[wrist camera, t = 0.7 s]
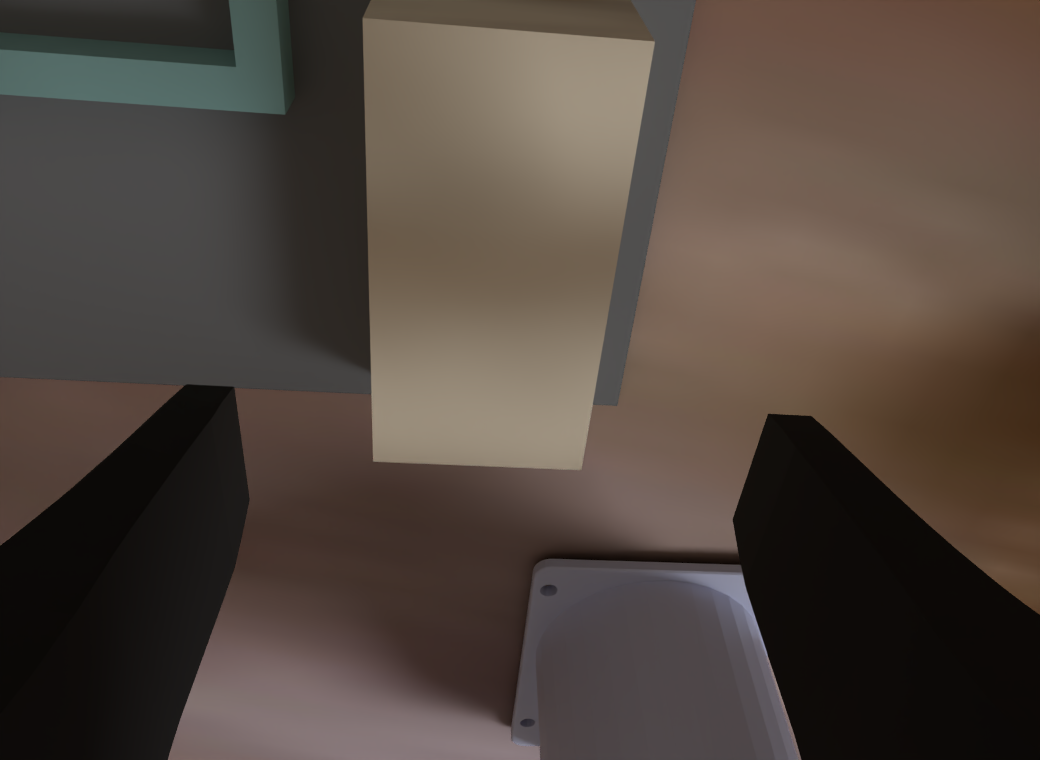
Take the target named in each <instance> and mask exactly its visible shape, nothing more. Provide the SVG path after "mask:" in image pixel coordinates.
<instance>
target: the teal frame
mask: <svg viewBox="0 0 1040 760" xmlns="http://www.w3.org/2000/svg"><path fill="white" fill-rule="evenodd" d="M229 7H230V16H231V25H232V34H233V43H234V50H224V49H211V48H198V47H185V46H172V45H159V44H146V43H133V42H120V41H107V40H94V39H81V38H68V37H55V36H42V35H29V34H16V33H3V32H0V94H2V95H16V96H30V97H44V98H58V99H72V100H86V101H100V102H114V103H128V104H142V105H156V106H170V107H184V108H198V109H212V110H226V111H240V112H254V113H268V114H282V115H285V114H286V113H287V111H288V109H289V107H290V105H291V104H292V102H293V100H294V98H295V89H294V75H293V61H292V48H291V34H290V20H289V6H288V0H229Z"/></svg>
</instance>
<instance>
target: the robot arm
mask: <svg viewBox="0 0 1040 760" xmlns="http://www.w3.org/2000/svg"><path fill="white" fill-rule="evenodd" d="M248 505H249V492H248V485H247V478H246V470H245V463H244V456H243V448H242V441H241V434H240V426H239V419H238V412H237V404H236V397H235V390H234V387H232V386H212V385H193V384H186V385H185V386H184V387H183V388H182V389H181V390H179V391H178V392H177V393H176V394H175V395H174V396H173V397H172V398H170V399H169V400H168V401H167V402H166V403H165V404H164V405H163V406H162V407H161V408H160V409H159V410H157V411H156V412H155V413H154V414H153V415H152V416H151V417H150V418H149V419H148V420H147V421H146V422H145V423H144V424H142V425H141V426H140V427H139V428H138V429H137V430H136V431H135V432H134V433H133V434H132V435H131V436H130V437H129V438H127V439H126V440H125V441H124V442H123V443H122V444H121V445H120V446H119V447H118V448H117V449H116V450H114V451H113V452H112V453H111V454H110V455H109V456H108V457H107V458H105V459H104V460H103V461H102V462H101V463H100V464H99V465H98V466H96V467H95V468H94V469H93V470H92V471H91V472H90V473H88V474H87V475H86V476H85V477H84V478H83V479H82V480H81V481H79V482H78V483H77V484H76V485H75V486H74V487H73V488H71V489H70V490H69V491H68V492H67V493H66V494H64V495H63V496H62V497H61V498H60V499H58V500H57V501H56V502H55V503H53V504H52V505H51V506H50V507H48V508H47V509H46V510H45V511H43V512H42V513H41V514H40V515H38V516H37V517H36V518H35V519H34V520H32V521H31V522H30V523H29V524H27V525H26V526H25V527H24V528H22V529H21V530H20V531H19V532H17V533H16V534H15V535H14V536H12V537H11V538H10V539H9V540H7V541H6V542H5V543H3V544H2V545H1V546H0V760H168V756H169V753H170V750H171V746H172V743H173V740H174V737H175V734H176V731H177V727H178V724H179V721H180V718H181V715H182V713H183V710H184V707H185V704H186V702H187V699H188V696H189V693H190V691H191V688H192V685H193V682H194V680H195V677H196V674H197V671H198V668H199V666H200V663H201V660H202V657H203V655H204V652H205V649H206V646H207V644H208V641H209V638H210V635H211V633H212V630H213V627H214V624H215V622H216V619H217V616H218V613H219V611H220V608H221V605H222V602H223V599H224V596H225V594H226V591H227V588H228V585H229V582H230V579H231V577H232V574H233V571H234V568H235V564H236V560H237V555H238V551H239V547H240V542H241V538H242V533H243V529H244V524H245V519H246V514H247V509H248ZM733 524H734V530H735V535H736V541H737V547H738V553H739V558H740V563H741V565H731V564H700V563H669V562H638V561H607V560H576V559H545V560H542V561H540V562H538V563H537V564H536V565H535V566H534V569H533V574H532V581H531V588H530V595H529V603H528V610H527V617H526V624H525V631H524V638H523V646H522V653H521V660H520V667H519V674H518V681H517V688H516V696H515V703H514V710H513V717H512V724H511V740H512V741H513V742H514V743H515V744H517V745H521V746H540V760H798V757H797V753H796V750H795V747H794V744H793V741H792V737H791V734H790V731H789V728H788V724H787V721H786V718H785V715H784V712H783V708H782V705H781V702H780V699H779V696H778V692H777V689H776V686H775V683H774V680H773V676H772V673H771V670H770V667H769V663H768V660H767V656H768V657H769V660H770V663H771V666H772V669H773V672H774V675H775V678H776V681H777V684H778V687H779V690H780V693H781V696H782V699H783V702H784V705H785V708H786V711H787V714H788V717H789V720H790V723H791V726H792V729H793V732H794V735H795V738H796V742H797V745H798V749H799V752H800V756H801V759H802V760H1040V615H1039V614H1038V613H1036V612H1035V611H1033V610H1032V609H1031V608H1029V607H1028V606H1027V605H1025V604H1024V603H1022V602H1021V601H1020V600H1018V599H1017V598H1016V597H1015V596H1013V595H1012V594H1011V593H1009V592H1008V591H1007V590H1006V589H1004V588H1003V587H1002V586H1000V585H999V584H998V583H997V582H995V581H994V580H993V579H992V578H990V577H989V576H988V575H987V574H986V573H984V572H983V571H982V570H981V569H980V568H978V567H977V566H976V565H975V564H974V563H972V562H971V561H970V560H969V559H968V558H966V557H965V556H964V555H963V554H962V553H960V552H959V551H958V550H957V549H955V548H954V547H953V546H952V545H951V544H950V543H948V542H947V541H946V540H945V539H944V538H943V537H942V536H941V535H939V534H938V533H937V532H936V531H935V530H934V529H933V528H931V527H930V526H929V525H928V524H927V523H926V522H925V521H924V520H922V519H921V518H920V517H919V516H918V515H917V514H916V513H915V512H914V511H913V510H911V509H910V508H909V507H908V506H907V505H906V504H905V503H904V502H903V501H902V500H901V499H900V498H898V497H897V496H896V495H895V494H894V493H893V492H892V491H891V490H890V489H889V488H888V487H887V486H886V485H885V484H884V483H882V482H881V481H880V480H879V479H878V478H877V477H876V476H875V475H874V474H873V473H872V472H871V471H870V470H869V469H868V468H867V467H866V466H865V465H864V464H863V463H861V462H860V461H859V460H858V459H857V458H856V457H855V456H854V455H853V454H852V453H851V452H850V451H849V450H848V449H847V448H846V447H845V446H844V445H843V444H841V443H840V442H839V441H838V440H837V439H836V438H835V437H834V436H833V435H832V434H831V433H830V432H829V431H828V430H826V429H825V428H824V427H823V426H822V425H821V424H820V423H819V422H817V421H816V420H815V419H814V418H813V417H812V416H799V415H780V414H768V416H767V419H766V422H765V425H764V428H763V431H762V434H761V437H760V440H759V443H758V446H757V449H756V452H755V455H754V458H753V461H752V464H751V467H750V470H749V473H748V475H747V478H746V481H745V484H744V487H743V490H742V493H741V496H740V499H739V502H738V505H737V508H736V511H735V514H734V517H733ZM545 585H550V586H545Z"/></svg>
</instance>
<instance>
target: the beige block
mask: <svg viewBox="0 0 1040 760" xmlns="http://www.w3.org/2000/svg"><path fill="white" fill-rule="evenodd" d="M654 45H655V41H654V39H653V37H652V35H651V34H650V32H649V30H648V29H647V27H646V25H645V24H644V22H643V20H642V19H641V17H640V15H639V13H638V12H637V10H636V8H635V7H634V5H633V3H632V2H631V0H371V1H370V3H369V5H368V7H367V9H366V12H365V14H364V16H363V58H364V100H365V142H366V184H367V226H368V268H369V310H370V352H371V394H372V436H373V462H393V463H418V464H443V465H467V466H492V467H516V468H541V469H566V470H581V469H582V463H583V458H584V452H585V446H586V440H587V434H588V429H589V423H590V417H591V411H592V405H593V399H594V394H595V388H596V382H597V376H598V370H599V365H600V359H601V353H602V347H603V341H604V335H605V330H606V324H607V318H608V312H609V306H610V301H611V295H612V289H613V283H614V277H615V272H616V266H617V260H618V254H619V248H620V242H621V237H622V231H623V225H624V219H625V213H626V208H627V202H628V196H629V190H630V184H631V179H632V173H633V167H634V161H635V155H636V149H637V144H638V138H639V132H640V126H641V120H642V115H643V109H644V103H645V97H646V91H647V85H648V80H649V74H650V68H651V62H652V56H653V51H654Z"/></svg>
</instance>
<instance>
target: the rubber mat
mask: <svg viewBox="0 0 1040 760" xmlns="http://www.w3.org/2000/svg"><path fill="white" fill-rule="evenodd" d="M370 1H371V0H288V6H289V20H290V34H291V48H292V61H293V75H294V89H295V98H294V100H293V102H292V104H291V105H290V107H289V109H288V111H287V113H286V114H285V115H282V114H268V113H254V112H240V111H226V110H212V109H198V108H184V107H170V106H156V105H142V104H128V103H114V102H100V101H86V100H72V99H58V98H44V97H30V96H16V95H2V94H0V377H13V378H35V379H56V380H78V381H99V382H120V383H142V384H163V385H186V384H193V385H212V386H232V387H234V388H249V389H270V390H292V391H313V392H335V393H356V394H371V352H370V310H369V268H368V226H367V184H366V142H365V100H364V58H363V16H364V14H365V12H366V9H367V7H368V5H369V3H370ZM631 2H632V3H633V5H634V7H635V8H636V10H637V12H638V13H639V15H640V17H641V19H642V20H643V22H644V24H645V25H646V27H647V29H648V30H649V32H650V34H651V35H652V37H653V39H654V41H655V45H654V51H653V56H652V62H651V68H650V74H649V80H648V85H647V91H646V97H645V103H644V109H643V115H642V120H641V126H640V132H639V138H638V144H637V149H636V155H635V161H634V167H633V173H632V179H631V184H630V190H629V196H628V202H627V208H626V213H625V219H624V225H623V231H622V237H621V242H620V248H619V254H618V260H617V266H616V272H615V277H614V283H613V289H612V295H611V301H610V306H609V312H608V318H607V324H606V330H605V335H604V341H603V347H602V353H601V359H600V365H599V370H598V376H597V382H596V388H595V394H594V399H593V405H613V406H617V404H618V399H619V394H620V389H621V383H622V378H623V373H624V368H625V363H626V358H627V353H628V347H629V342H630V337H631V332H632V327H633V322H634V316H635V311H636V306H637V301H638V296H639V291H640V286H641V280H642V275H643V270H644V265H645V260H646V255H647V249H648V244H649V239H650V234H651V229H652V224H653V218H654V213H655V208H656V203H657V198H658V193H659V188H660V182H661V177H662V172H663V167H664V162H665V157H666V151H667V146H668V141H669V136H670V131H671V126H672V121H673V115H674V110H675V105H676V100H677V95H678V90H679V84H680V79H681V74H682V69H683V64H684V59H685V54H686V48H687V43H688V38H689V33H690V28H691V23H692V17H693V12H694V7H695V2H696V0H631ZM0 32H3V33H16V34H29V35H42V36H55V37H68V38H81V39H94V40H107V41H120V42H133V43H146V44H159V45H172V46H185V47H198V48H211V49H224V50H234V43H233V34H232V25H231V16H230V7H229V0H0Z"/></svg>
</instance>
